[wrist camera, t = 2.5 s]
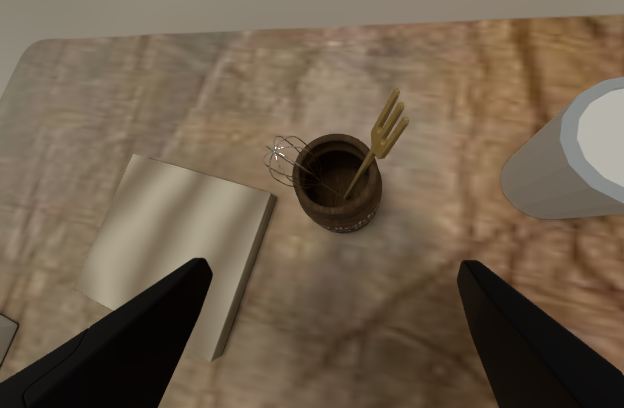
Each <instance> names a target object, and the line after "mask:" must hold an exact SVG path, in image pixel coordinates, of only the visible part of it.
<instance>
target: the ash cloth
mask: <svg viewBox="0 0 624 408" xmlns="http://www.w3.org/2000/svg"><path fill="white" fill-rule="evenodd" d="M276 199H277V197H275V196H274V195H272V194H271V193H268V192H264V191H261V190H257V189H254V188H250V187H247V186H243V185H240V184H236V183H233V182H229V181H226V180H222V179H219V178H216V177H212V176H209V175H205V174H202V173H198V172H195V171H191V170H188V169H184V168H181V167H177V166H174V165H170V164H167V163H163V162H160V161H157V160H153V159H150V158H146V157H143V156H139V155H136V154H133V156H132V158H131V161H130V163H129V165H128V167H127V170H126V172H125V174H124V176H123V178H122V181H121V183H120V185H119V187H118V189H117V192H116V194H115V196H114V198H113V200H112V203H111V205H110V207H109V209H108V211H107V214H106V216H105V218H104V220H103V222H102V225H101V227H100V229H99V231H98V234H97V236H96V238H95V240H94V242H93V245H92V247H91V249H90V251H89V253H88V256H87V258H86V260H85V262H84V264H83V267H82V269H81V271H80V273H79V275H78V278H77V280H76V282H75V284H74V287H73V289H74V290H76V291H78V292H80V293H82V294H84V295H86V296H87V297H89V298H91V299H93V300H95V301H97V302H99V303H100V304H102V305H104V306H106V307H108V308H110V309H112V310H113V311H114V310H116V309H117V308H119V307H120V306H122V305H123V304H125V303H126V302H128V301H129V300H131V299H132V298H134V297H135V296H137V295H138V294H140V293H141V292H143V291H144V290H146V289H147V288H149V287H150V286H152V285H153V284H155V283H156V282H158V281H159V280H161V279H162V278H164V277H165V276H167V275H168V274H170V273H171V272H173V271H174V270H176V269H177V268H179V267H180V266H182V265H183V264H185V263H186V262H188V261H189V260H191V259H192V258H205V259H206V260H207V262H208V264H209V266H210V268H211V270H212V272H213V278H212V281H211V284H210V287H209V290H208V293H207V296H206V298H205V301H204V304H203V307H202V310H201V313H200V315H199V318H198V320H197V322H196V325H195V327H194V329H193V331H192V333H191V336H190V338H189V340H188V342H187V344H186V347H185V349H186V350H188V351H190V352H192V353H193V354H195V355H197V356H199V357H201V358H203V359H205V360H206V361H208V362H210V363H211V362H212V361H214V360H215V359H216V358H218V357H219V356H221V355H222V352H223V349H224V346H225V344H226V341H227V338H228V335H229V332H230V329H231V327H232V324H233V321H234V318H235V315H236V312H237V309H238V307H239V304H240V301H241V298H242V295H243V292H244V290H245V287H246V284H247V281H248V278H249V275H250V273H251V270H252V267H253V264H254V261H255V258H256V255H257V253H258V250H259V247H260V244H261V241H262V238H263V236H264V233H265V230H266V227H267V224H268V221H269V219H270V216H271V213H272V210H273V207H274V204H275V201H276Z"/></svg>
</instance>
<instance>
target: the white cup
mask: <svg viewBox="0 0 624 408" xmlns="http://www.w3.org/2000/svg"><path fill="white" fill-rule="evenodd" d="M500 183H501V186H502V189H503V192H504V195H505V197H506V198H507V199H508V200H509V201H510V202H511V204H512V205H513V206H514V207H515V208H517V209H518V210H520V211H522V212H524V213H525V214H527V215H529V216H532V217H537V218H541V219H546V220H553V219H565V218H578V217H590V216H603V215H615V214H624V77H620V78H615V79H610V80H605V81H602V82H600V83H598V84H597V85H595V86H593V87H591V88H590V89H588V90H586V91H585V92H583V93H581V94H579V95H578V96H577V97H575V98H574V99H573V100H572V101H571V102H570V103H569V104H568V105H567V106H566V107H565V108H563V109H562V110H561V111H560V112H559V113H558V114H557V115H556V116H555V117H554V118H553V119H551V120H550V121H549V122H548V123H547V124H546V125H545V126H544V127H543V128H542V129H541V130H539V131H538V132H537V133H536V134H535V135H534V136H533V137H532V138H531V139H530V140H529V141H527V142H526V143H525V144H524V145H523V146H522V147H521V148H520V149H519V150H518V151H517V152H515V153H514V154H513V155H512V156H511V157H510V158H509V160H508V161H507V162H506V164H505V165H504V167H503V168H502V173H501V179H500Z"/></svg>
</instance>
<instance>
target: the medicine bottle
mask: <svg viewBox="0 0 624 408" xmlns="http://www.w3.org/2000/svg"><path fill="white" fill-rule="evenodd" d="M17 327H18V325H17V324H16V323H14V322H12V321H11V320H9V319H7V318H5V317H4V316H2V315H0V365H1V363H2V360H3V358H4V356H5V354H6V351H7V349H8V347H9V345H10V342H11V340H12V338H13V336H14V333H15V331H16V329H17Z"/></svg>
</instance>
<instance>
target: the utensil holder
mask: <svg viewBox="0 0 624 408" xmlns="http://www.w3.org/2000/svg"><path fill="white" fill-rule="evenodd" d="M399 93H400V91H399V89H398V88H397V89H394V90H393V92H392V94H391V96H390V98H389V100H388V101H387V103H386V105H385V107H384V109H383V111H382V112H381V114H380V116H379V118H378V120H377V121H376V123H375V125H374V127H373V129H372V131H371V142H372V146H371V149H369V148H368V147H367V146H366V145H365V144H364V143H363V142H361V141H360V140H358V139H357V138H355V137H352V136H349V135H345V134H329V135H325V136H322V137H319V138H317V139H315V140H313V141H312V142H310V143H309V144H308V145H307V144H305V143H304V142H303V141H302V140H301V139H299V138H298V137H296V136H289V137H296V138H298V139H299V140H300V141H302V142H303V143H304V144H305V145H306V147H305V148H301V147H296V146H293V145H292V144H291V143H290V142H288V141H287V140H286V138H289V137H286V138H283V137H281V136H276V137H275V139H276V138H277V137H281V138H283V140H286V141H287V142H288V143H289V144H291V145H292V146H288V147H294V148H295V149H296V148H301V149H303V150H302V151H301V152H299V151H298V150H297V149H296V150H297V151H298V152H299V153H300V154H299V155H298V157H297V159H296V161H295V162H294V161H293V160H291V159H290V158H288V157H286V156H285V155H283V154H281V153H280V152H278V151H276V150H278V149H282V148H288V147H281V148H278V149H276V148H277V147H278V145H279V144H280V143H281V142H282V141H283V140H282V141H280V143H279V144H278V145H277V146H276V148H275V139H274V149H273V148H271V147H269V146H266V147H267V148H268V149H270V150H271V149H272V150H271V151H270V152H269V153H271V152H273V153H275V157H276V154H277V153H276V152H278V153H279V154H281V155H283V156H284V157H286V158H288V159H289V160H291V161H292V162H294V163H295V164H292V163H291V162H289V161H288V162H289V163H291V164H292V165H294V167H293V174H292V179H293V181H292V180H290V179H289V178H288V177H291V176H288V177H287V175H285V173H284V172H283V171H282V169H281V167H280V165H279V163H278V160H277V157H276V160H277V163H278V165H279V167H280V169H281V171H282V172H283V174H282V175H285V176H286V177H287V178H288V179H289V180H290V181H292V182H293V186H291V187H294V189H295V192H296V195H297V197H298V199H299V202H300V204H301V206H302V208H303V210H304V211H305V213H306V214H307V215H308V216H309V217H310V218H311V219H312V220H313V221H315V222H316V223H317V224H319V225H320V226H322V227H323V228H325V229H327V230H330V231H333V232H338V233H348V232H353V231H356V230H358V229H360V228H362V227H363V226H365V225H366V224H367V223H368V222H369V221H370V220H371V219H372V218H373V216H374V215H375V213H376V211H377V209H378V206H379V202H380V198H381V193H382V180H381V175H380V171H379V169H378V166H377V163H376V160H375V158H374V157H375V156H376V157H377V158H378V159H383V158H385V157H386V156H387V154H388V153H389V151H390V150H391V148H392V147H393V145H394V144H395V142H396V141H397V139H398V138H399V137H400V135H401V134H402V132H403V131H404V129H405V128H406V126H407V125H408V123H409V119H408V117H403V118H402V120H401V121H400V122H399V124H398V125H397V127H396V128H395V130H394V131H393V132H392V134H391V135H390V137H389V138H388V139H387V136H388V135H389V133H390V131H391V130H392V128H393V126H394V125H395V123H396V121H397V120H398V118H399V116H400V114H401V113H402V111H403V109H404V104H403V102H400V103H398V105H397V106H396V108H395V110H394V111H393V113H392V114H391V116H390V118H389V119H388V121H387V123H386V124H385V122H386V120H387V118H388V116H389V114H390V112H391V110H392V108H393V106H394V104H395V102H396V100H397V98H398V96H399ZM384 124H385V126H384V127H383V125H384ZM386 139H387V141H386ZM275 151H276V152H275ZM269 153H267V154H266V155H268V154H269ZM273 153H272V155H271V158H272V156H273ZM279 154H277V155H279ZM266 155H265V156H266ZM265 156H264V158H265ZM279 156H280V155H279ZM280 157H281V156H280ZM264 158H263V163H264ZM271 158H270V162H271ZM282 158H283V157H282ZM283 159H284V158H283ZM285 160H286V159H285ZM286 161H287V160H286ZM270 162H269V166H267V165H266V164H265V163H264V164H265V165H266V166H267V167H269V171H270V169H272V168H270ZM272 170H274V169H272ZM274 171H275V170H274ZM275 172H277V171H275ZM277 173H279V172H277ZM270 174H271V171H270ZM279 174H281V173H279ZM271 176H272V174H271ZM272 177H273V176H272ZM273 178H274V177H273ZM274 179H275V180H277V179H276V178H274ZM277 181H279V180H277ZM279 182H281V181H279ZM281 183H282V182H281ZM282 184H284V183H282ZM284 185H286V184H284ZM287 186H290V185H287Z"/></svg>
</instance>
